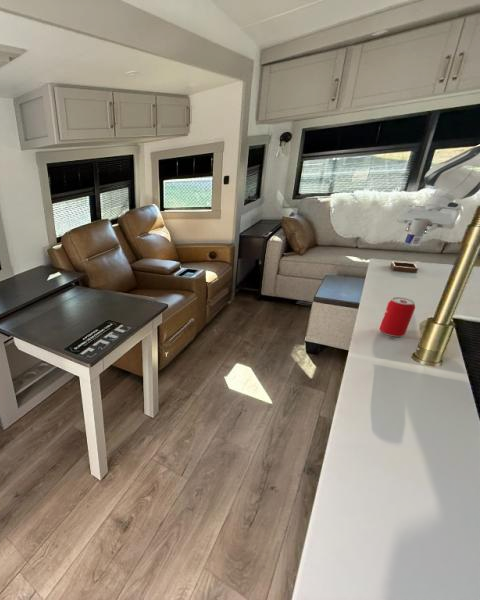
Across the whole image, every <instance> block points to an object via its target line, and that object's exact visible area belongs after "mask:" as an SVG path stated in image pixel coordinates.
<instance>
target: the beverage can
mask: <svg viewBox="0 0 480 600" xmlns="http://www.w3.org/2000/svg"><path fill="white" fill-rule="evenodd" d="M415 309H416V305H415V301H414V300H413V299H410V298H407V297H399V296H397V297H393V298H391V300H389V301H388V303H387V306H386V308H385V311H384V313H383V317H382V319H381V322H380V326H379V331H380V332H381V333H382V334H384V335H386V336H389V337H396V338H397V337H403V336H406V332H407V330H408V328H409V325H410V322H411V320H412V318H413V314H414V312H415Z"/></svg>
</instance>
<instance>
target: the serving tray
mask: <svg viewBox="0 0 480 600" xmlns="http://www.w3.org/2000/svg"><path fill="white" fill-rule="evenodd" d="M390 267H391V270H392V271H393V272H401V273H402V272H403V273H411V274H412V273H414V274H417V273H418V270H419V267H418V266H417V264H416V263H415V262H403V261H391V263H390Z"/></svg>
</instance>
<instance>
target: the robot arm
mask: <svg viewBox="0 0 480 600" xmlns="http://www.w3.org/2000/svg"><path fill="white" fill-rule="evenodd" d="M466 167H477V168H480V144H478V145H475V146H473V147H471V148H468V149H467V150H465V151H463V152H461V153H459V154H457V155H455V156H453V157H450V158H449V159H446V160H443V161H441V162H439V163H437V164H435V165H433V166H432V167H431V168H430V169H428V171H426V173H425V175H424V177H423V181H424V182H425V185H427V186H430V187H435V188H436V190H434V193H433V195H431V196H430V197H429V198H428V199H427V200H426V202H425V203H424V204H423V205H409V206H406V207H404V209H403V210H402V211H401V212H400V213H399V214H398V215H397V216H396V221H397V223H399V224H405V225H406V227H405V229H404V232H407V233H408V232H409V229H410V226H411V223H412V221H413V219H416V218H422V219H429V223H428V226H427V227H428V228H427V229H425V230H424V231H423V233H424V235H429V234H430V233H431V232H433V231H435V230H437V229H439V228H440V229H447V230H453V229H455V228H456V227H457V226H458V225H459V224H460V222H461V220H462V216H463V215H464V211H465V210H464V207H463V205H462V204H461V203H458V202H457V201H458V200H464V199H467V198H471V197H473V196H474V195H477V193H478V192H479V191H480V172H477V171H475V170H471V169H468V168H466Z"/></svg>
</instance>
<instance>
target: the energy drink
mask: <svg viewBox="0 0 480 600" xmlns="http://www.w3.org/2000/svg"><path fill="white" fill-rule="evenodd" d="M428 223H429V219H422V218H416V219H413V221H412V223H411V226H410V229H409V232H407V235H406V238H405V240H404V244H403V245H404V246H406V247H412V248H414V247H417V248H418V247H420V246H421V244H422V242H423V239H424V237H425V234H424V233H423V231H424V230H425V229H428V227H429V226H428Z"/></svg>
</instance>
